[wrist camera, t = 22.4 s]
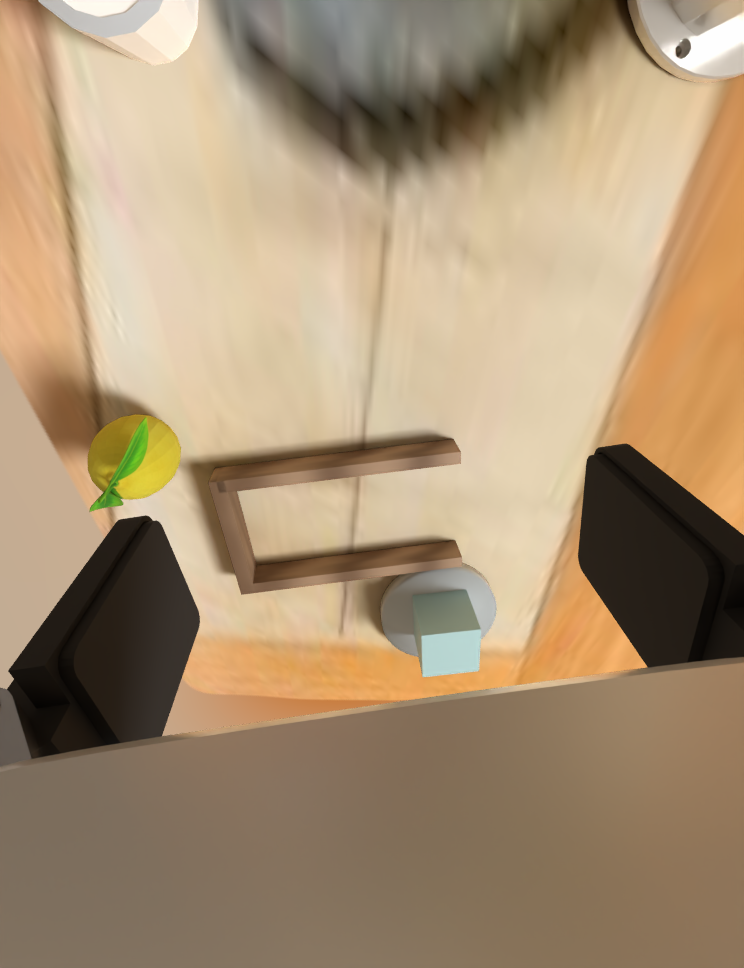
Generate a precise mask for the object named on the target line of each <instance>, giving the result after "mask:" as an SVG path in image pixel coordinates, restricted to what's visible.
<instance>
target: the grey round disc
mask: <svg viewBox="0 0 744 968" xmlns="http://www.w3.org/2000/svg"><path fill="white" fill-rule="evenodd" d="M456 590H467V593H468V595H469V598H470V601H471V603H472V606H473V609H474V612H475V614H476V617H477V620H478V622H479V625H480V628H481V639H482V638H483V637H484V636H485V635H486V633H487V632H488V631H489V629H490V628H491V626H492V624H493V622H494V619H495V616H496V601H495V597H494V595H493V593H492V591H491V588H490V586H489V584H488V582H487V580H486V579H485V577H484V576H483V575H482V574H481V573H480V572H478V571H477V570H476V569H474V568H472V567H471V566H469V565H466V564H464V563H462V567H454V568H446V569H438V570H430V571H422V572H414V573H407V574H400V575H399V576H398V577H396V578H395V579H394V580H393V581H392V582H391V583H390V585H389V586H388V587H387V589H386V590H385V592H384V595H383V597H382V600H381V606H380V613H381V621H382V627H383V631H384V633H385V635H386V637H387V639H388V640H389V641H390V642H391V643H392V644H393V645H394V646H395V647H396V648H398V649H399V650H401V651H403V652H405V653H407V654H410V655H413V656H417V657H418V652H417V647H416V642H415V637H414V621H413V595H418V594H428V593H437V592H447V591H456Z"/></svg>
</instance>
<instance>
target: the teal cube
mask: <svg viewBox="0 0 744 968" xmlns="http://www.w3.org/2000/svg"><path fill="white" fill-rule="evenodd" d="M413 621H414V637H415V642H416V647H417V652H418V657H419V662H420V667H421V671H422V676H423V677H429V676H438V675H447V674H456V673H465V672H474V671H479V660H480V641H481V628H480V625H479V622H478V620H477V617H476V614H475V612H474V609H473V606H472V603H471V601H470V598H469V595H468V593H467V590H456V591H447V592H437V593H428V594H418V595H413Z"/></svg>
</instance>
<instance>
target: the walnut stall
mask: <svg viewBox="0 0 744 968" xmlns="http://www.w3.org/2000/svg"><path fill="white" fill-rule="evenodd" d="M453 464H461V452H460V450H459V448H458V446H457V445H456V443H455V441H454V439H449V440H441V441H433V442H424V443H416V444H408V445H400V446H392V447H384V448H375V449H367V450H359V451H351V452H343V453H334V454H326V455H318V456H310V457H302V458H293V459H285V460H277V461H269V462H261V463H252V464H244V465H236V466H228V467H220V468H215V469H214V472H213V474H212V476H211V478H210V480H209V482H208V484H209V487H210V491H211V494H212V497H213V501H214V504H215V507H216V511H217V514H218V517H219V521H220V524H221V528H222V531H223V534H224V538H225V541H226V544H227V548H228V551H229V554H230V558H231V561H232V564H233V568H234V571H235V575H236V578H237V581H238V585H239V588H240V591H241V595H242V594H250V593H258V592H265V591H273V590H281V589H289V588H297V587H305V586H312V585H320V584H328V583H336V582H344V581H352V580H360V579H367V578H375V577H383V576H391V575H399V574H407V573H414V572H422V571H430V570H438V569H446V568H454V567H462V556H461V554H460V551H459V549H458V546H457V544H456V541H447V542H439V543H432V544H424V545H416V546H408V547H400V548H392V549H384V550H376V551H368V552H360V553H352V554H344V555H337V556H329V557H321V558H313V559H305V560H297V561H289V562H281V563H273V564H265V565H256V561H255V557H254V553H253V550H252V546H251V542H250V538H249V535H248V531H247V527H246V523H245V520H244V516H243V512H242V509H241V505H240V501H239V497H238V494H237V491H242V490H250V489H258V488H266V487H274V486H283V485H291V484H299V483H307V482H315V481H323V480H331V479H339V478H348V477H356V476H364V475H372V474H380V473H388V472H396V471H404V470H412V469H421V468H429V467H437V466H445V465H453Z"/></svg>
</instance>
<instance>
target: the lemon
mask: <svg viewBox="0 0 744 968" xmlns="http://www.w3.org/2000/svg"><path fill="white" fill-rule="evenodd" d="M180 453H181V447H180V444H179V441H178V438H177V436H176V435H175V433H174V432H173V431H172V429H171V428H170V427H169V426H168V425H166V424H165V423H164V422H163V421H161V420H159V419H157V418H154V417H152V416H148V415H138V414H136V415H130V416H124V417H121V418H119V419H117V420H115V421H113V422H111V423H109V424H107V425H106V426H105V427H104V428H103V429H102V430H101V431H100V432H99V433H98V434H97V435H96V436H95V437H94V439H93V441H92V444H91V447H90V449H89V452H88V471H89V474H90V476H91V479H92V481H93V482H94V483H95V485H96V486H97V487H98V488H99V489H100V490H102V491H103V492H104V493H103V494H102V495H101V496H100V497H99V498H98V499H97V500H96V501H95V503H94V504H93V505H92V506H91V508H90V512H91V511H94V510H97V509H101V508H106V507H114V506H121V505H123V502H122V501H121V500H120V499H129V500H131V499H141V498H145V497H148V496H150V495H152V494H153V493H155V492H157V491H159V490H160V489H162V488H163V487H164V486H165V485H166V484H167V483H168V482H169V481H170V480H171V479H172V478H173V476H174V475H175V473H176V470H177V468H178V466H179V463H180Z"/></svg>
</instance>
